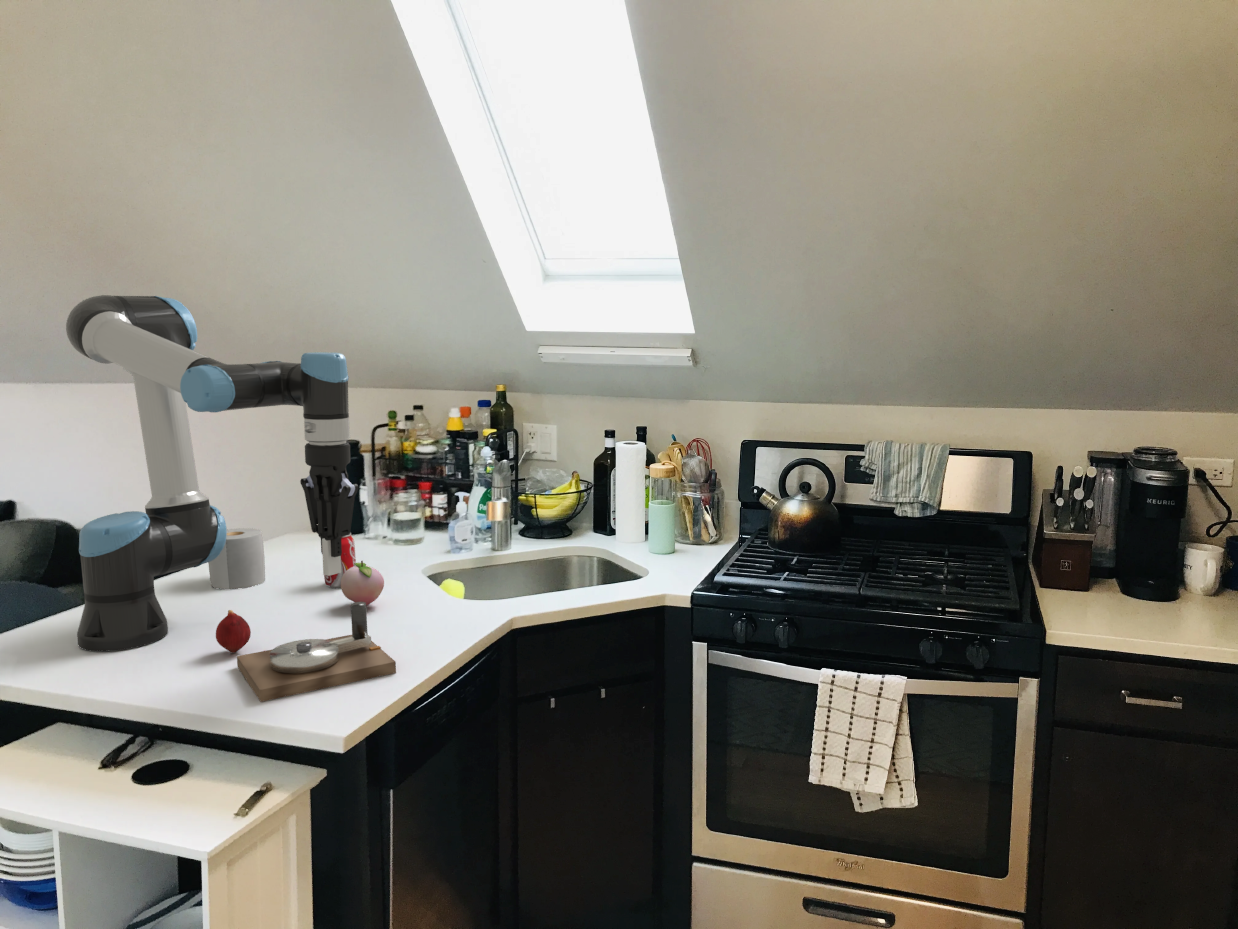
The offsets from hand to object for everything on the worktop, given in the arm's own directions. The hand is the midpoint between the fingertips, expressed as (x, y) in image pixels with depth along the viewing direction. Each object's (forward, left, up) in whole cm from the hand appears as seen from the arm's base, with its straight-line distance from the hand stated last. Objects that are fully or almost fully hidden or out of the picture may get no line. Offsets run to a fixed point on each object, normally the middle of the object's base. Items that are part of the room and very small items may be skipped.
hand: (332, 573), depth 163 cm
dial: (-4, -6, -13) cm, 15 cm away
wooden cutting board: (-5, -6, -15) cm, 17 cm away
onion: (-15, +11, -15) cm, 24 cm away
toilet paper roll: (-5, +60, -15) cm, 62 cm away
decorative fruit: (+13, +25, -15) cm, 32 cm away
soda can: (+14, +44, -15) cm, 49 cm away
